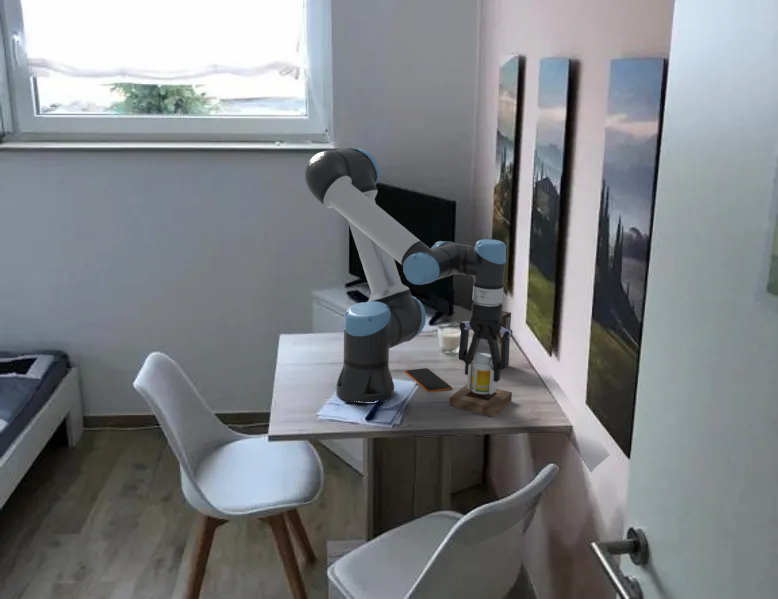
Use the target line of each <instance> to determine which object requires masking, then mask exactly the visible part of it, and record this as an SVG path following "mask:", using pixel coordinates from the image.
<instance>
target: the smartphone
mask: <svg viewBox="0 0 778 599" xmlns="http://www.w3.org/2000/svg"><path fill="white" fill-rule="evenodd" d="M403 373H405V375H407V376H408V377H409V378H411V379H412V381H414V380H415V381H416V382H417V383H418V384H419V385H418V384H417V383H416V382H415V381H414V382H415V383H416V384H417V385H418V386H419V387H421V388H422V389H423V390H424V391H426V393H437V392H444V391H445V392H446V391H451V390H453V386H451V385H450V384H449V383H447V382H446V381H445V380H444V379H443V378H441V377H440V376H438V375H437V374H436V373H435V372H433V371H432V370H431V369H429V368H428V367H424V368H423V367H422V368H414V369H406V370H404V372H403Z"/></svg>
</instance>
